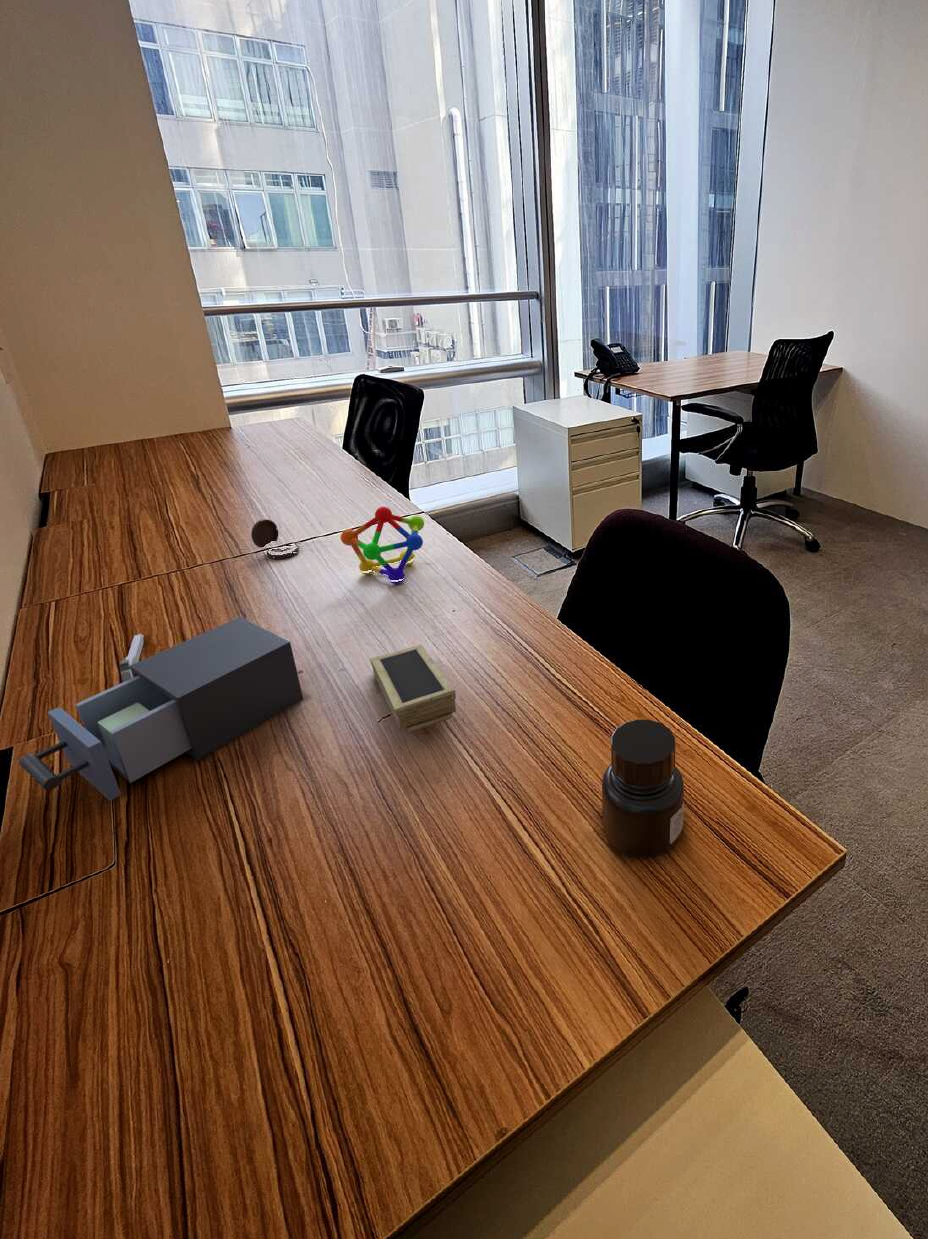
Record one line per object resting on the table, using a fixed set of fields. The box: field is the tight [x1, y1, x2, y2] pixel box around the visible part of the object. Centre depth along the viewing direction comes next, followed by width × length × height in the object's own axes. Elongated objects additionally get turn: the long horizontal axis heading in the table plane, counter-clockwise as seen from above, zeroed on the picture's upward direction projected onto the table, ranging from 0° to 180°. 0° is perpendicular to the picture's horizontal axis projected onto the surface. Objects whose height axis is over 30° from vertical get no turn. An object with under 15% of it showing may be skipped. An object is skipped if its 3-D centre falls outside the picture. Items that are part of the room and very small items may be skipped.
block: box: [97, 702, 149, 760], centre depth 81 cm, size 4×4×4 cm
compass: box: [251, 519, 302, 560], centre depth 139 cm, size 8×8×7 cm
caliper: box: [118, 633, 145, 683], centre depth 100 cm, size 20×1×6 cm, turn 33°
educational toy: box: [340, 506, 425, 585], centre depth 127 cm, size 16×13×15 cm
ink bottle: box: [601, 718, 685, 858], centre depth 71 cm, size 10×9×12 cm
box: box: [369, 644, 457, 734], centre depth 94 cm, size 8×22×5 cm, turn 32°
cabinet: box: [130, 616, 304, 761], centre depth 90 cm, size 15×13×10 cm
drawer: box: [19, 676, 191, 802], centre depth 80 cm, size 18×11×8 cm, turn 147°
